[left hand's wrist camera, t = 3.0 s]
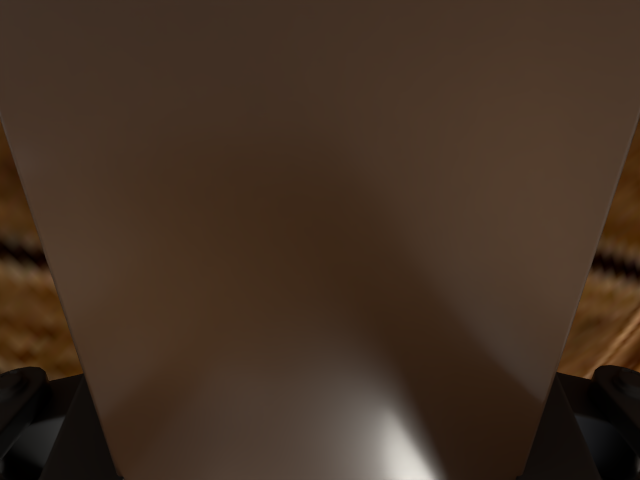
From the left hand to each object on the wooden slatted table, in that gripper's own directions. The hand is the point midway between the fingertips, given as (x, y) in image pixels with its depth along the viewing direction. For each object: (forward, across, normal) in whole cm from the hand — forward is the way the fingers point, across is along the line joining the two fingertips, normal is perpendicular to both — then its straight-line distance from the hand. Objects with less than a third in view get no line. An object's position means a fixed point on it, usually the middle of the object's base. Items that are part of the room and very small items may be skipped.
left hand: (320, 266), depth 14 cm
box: (+2, 0, -7) cm, 8 cm away
